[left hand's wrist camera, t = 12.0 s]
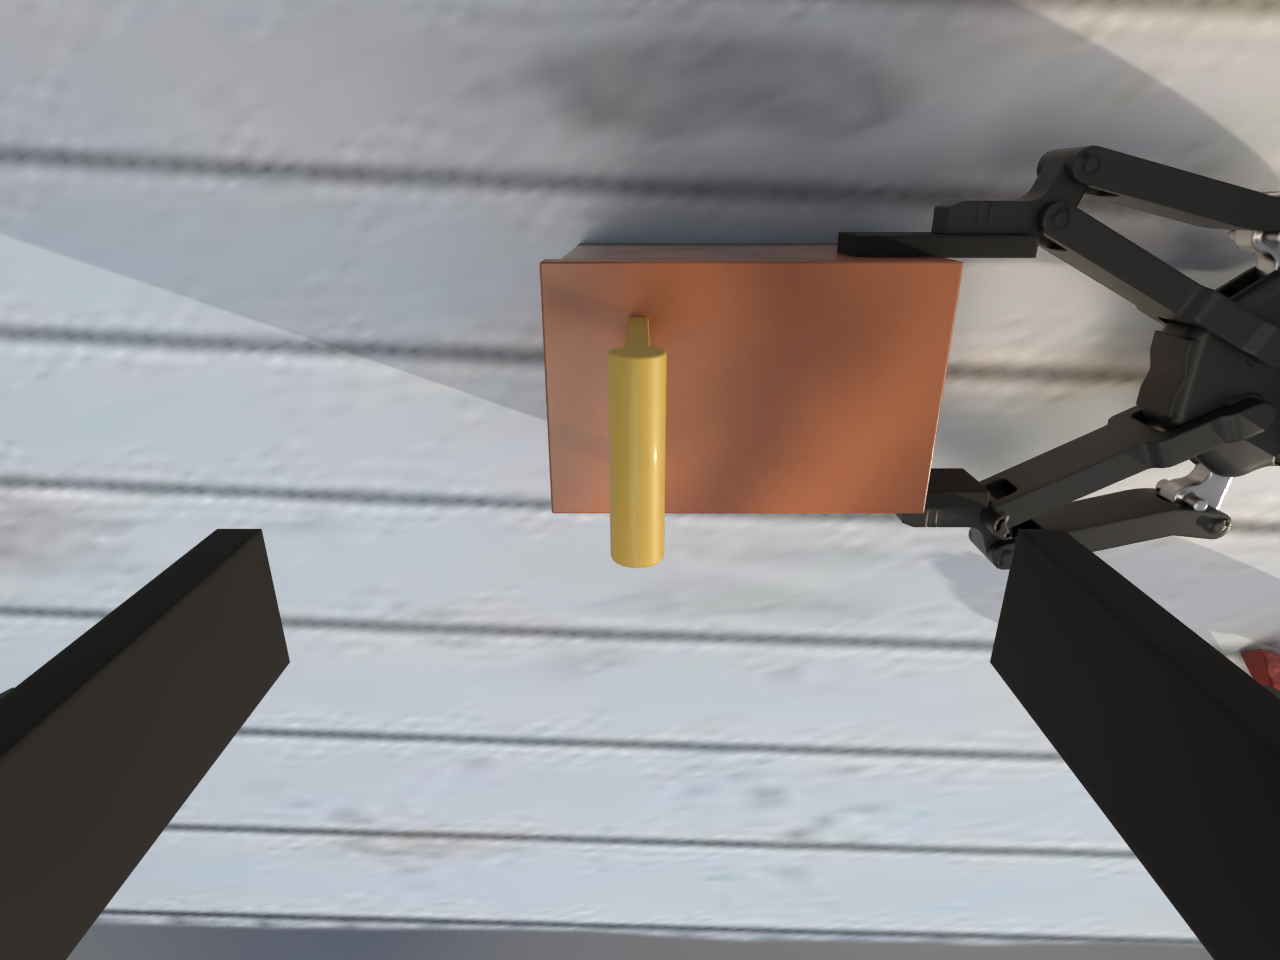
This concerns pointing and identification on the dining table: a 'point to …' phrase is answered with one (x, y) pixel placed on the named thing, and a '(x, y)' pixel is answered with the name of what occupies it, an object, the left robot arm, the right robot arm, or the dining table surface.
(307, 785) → the dining table surface
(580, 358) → the lid
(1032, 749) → the dining table surface
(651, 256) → the chest
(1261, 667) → the dental model
